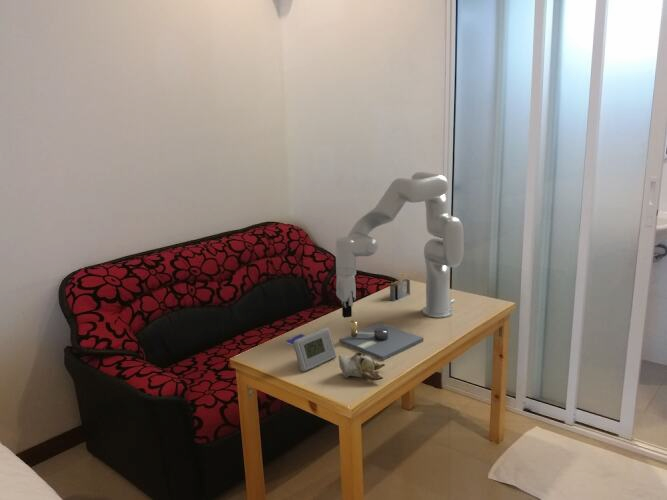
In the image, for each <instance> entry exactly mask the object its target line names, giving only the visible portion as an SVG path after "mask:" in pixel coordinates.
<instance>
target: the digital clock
mask: <svg viewBox="0 0 667 500" xmlns="http://www.w3.org/2000/svg"><path fill="white" fill-rule="evenodd" d="M304 335H305V336H303V337H301V338H299V339H297V340H295V341H294V342H293V345H294V346H293V349H294V351H295V355H296V359H297V362H298V366H299V370H300V371H301V372H307V371H309V370H312V369H315V368H316V367H319V366H321V365H323V364H326V363H327V362H330V361H331V360H333V359H334V358H336V357H337V354H336V349H335V346H334V343H333V339H332V335H331V332H330V329H329V328H328V327H325V328H321V329H318V330H315V331H313V332H311V333H307V334H304Z"/></svg>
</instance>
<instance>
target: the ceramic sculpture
mask: <svg viewBox="0 0 667 500" xmlns="http://www.w3.org/2000/svg"><path fill="white" fill-rule="evenodd" d="M362 353H363V352H356V353H354V354H353V356H351V357H350V356H347V355H338V363H339V368H340V369H341V372H342V374H343V376H344V378H346V379H347V378H349V377H350V376H351V377H357V378H363V379H366V380H369V381H370V382H373V381H379V380H383V379H384V377H383V376H381V375H380V374H379V373H378V372H376V371H378V370H380V369H381V368H383V367H385V366H386V364H385V363H381V364H379V363H378V362H375V360H374V359H373V357H372V356H370V355H368V354H362Z"/></svg>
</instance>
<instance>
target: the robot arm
mask: <svg viewBox="0 0 667 500" xmlns="http://www.w3.org/2000/svg"><path fill="white" fill-rule="evenodd" d="M448 189H449V182H448V178H447V177H445V176H444V175H442V174H438V173H432V172H425V171H419V172H415V173H414V174H413V175H412V176H411V178H406V177H398V178H396V179H394V180H393V181H392V182H391V183H390V185H389V186H388V188H387V190H386V191H385V192H384V194H383V195H382V196H381V198H380V200H379V201H378V203H377V204H376V206H375V207H374V208H372V209H371V210H370V211H368V212H367V213H365V214H364V215H363V216H362V217H360V218H359V219H358V220H357V221H356V222H355V224H354V225H353V227H352V228H351V230H350V231H349V233H348V235H347V236H342V237H338V238H336V240H335V270H336V271H335V272H336V273H335V275H336V282H335V283H336V284H335V285H336V287H335V293H336V297H337V298H338V299H339V300H340V301H341V305H342V306H341V310H342V311H341V312H342V313H341V314H342V317H343V318H352V317H353V316H352V315H353V312H352V309H353V308H352V307H353V306H354V302H355V301H356V298H357V297H356V296H357V292H356V291H357V290H356V286H357V285H356V277H355V276H356V275H357V257H371V256H373V255H375V254H376V252H377V251H378V248H379V244H378V241H377V240H376V239H375V238H374V237H373V236H370V235H369V234H370V233H371V232H372V231H374V229H376V228H377V227H379V226H382V225H385V224H388V223H391V222H393V221H394V220H395V219H396V217H397V215H398V214H399V213H400V211H401V210H402V208H403V207H404V205H405V204H406V203H407V202H409V203H412V204H413V203H421V202H424V203H425V214H426V215H425V217H426V230H427V233H428V234H429V235H431V236H433V237H435V238H431V239H429V240H428V241H427V242H425V244H424V248H423V256H424V261H425V269H426V270H425V271H426V273H425V306H424V307H423V308H422V312H421V313H422V314H423V315H424V316H426V317H430V318H437V319H438V318H442V319H443V318H447V317H451V316H452V315H453V313H454V310H453V308H452V307H451V306H452V305H453V304H455V302H456V300H455V299H454V298H451V299H450V268H456V267H458V266H459V265H460V264H461V263H462V261H463V260H464V259H463V258H464V255H465V254H464V251H465V249H464V247H465V245H464V242H465V240H464V239H465V238H464V237H465V236H464V226H463V223H462V221H461V220H460V219H459V218H458V217H456V216H453V215H450V214H449V211H448V210H449V209H448V199H447V196H446V192H447V191H448Z"/></svg>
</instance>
